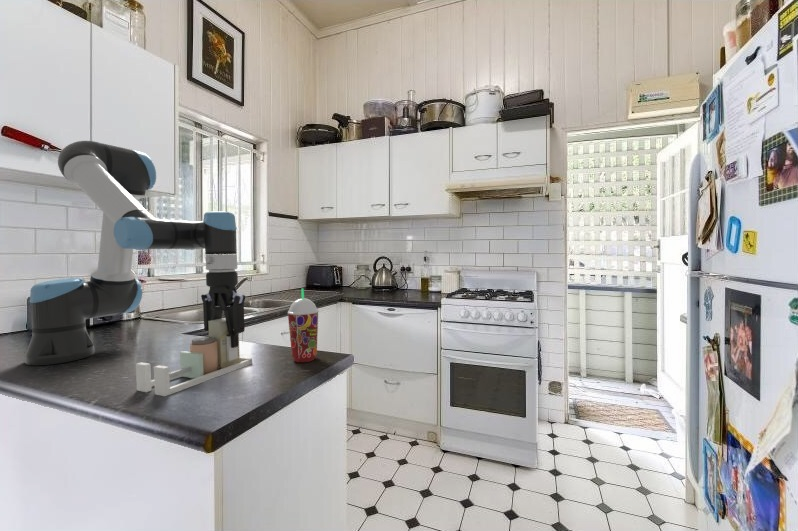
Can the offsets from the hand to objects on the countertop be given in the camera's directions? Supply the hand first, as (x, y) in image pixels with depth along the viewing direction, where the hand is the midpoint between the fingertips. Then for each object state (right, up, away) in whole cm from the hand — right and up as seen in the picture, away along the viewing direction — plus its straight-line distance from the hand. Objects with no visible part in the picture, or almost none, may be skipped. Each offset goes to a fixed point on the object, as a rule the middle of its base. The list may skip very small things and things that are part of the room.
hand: (225, 358), depth 98 cm
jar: (-2, -3, -6) cm, 7 cm away
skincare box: (0, -2, 0) cm, 2 cm away
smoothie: (+20, -2, +5) cm, 21 cm away
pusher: (-5, -3, -12) cm, 14 cm away
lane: (-3, -3, -7) cm, 8 cm away
